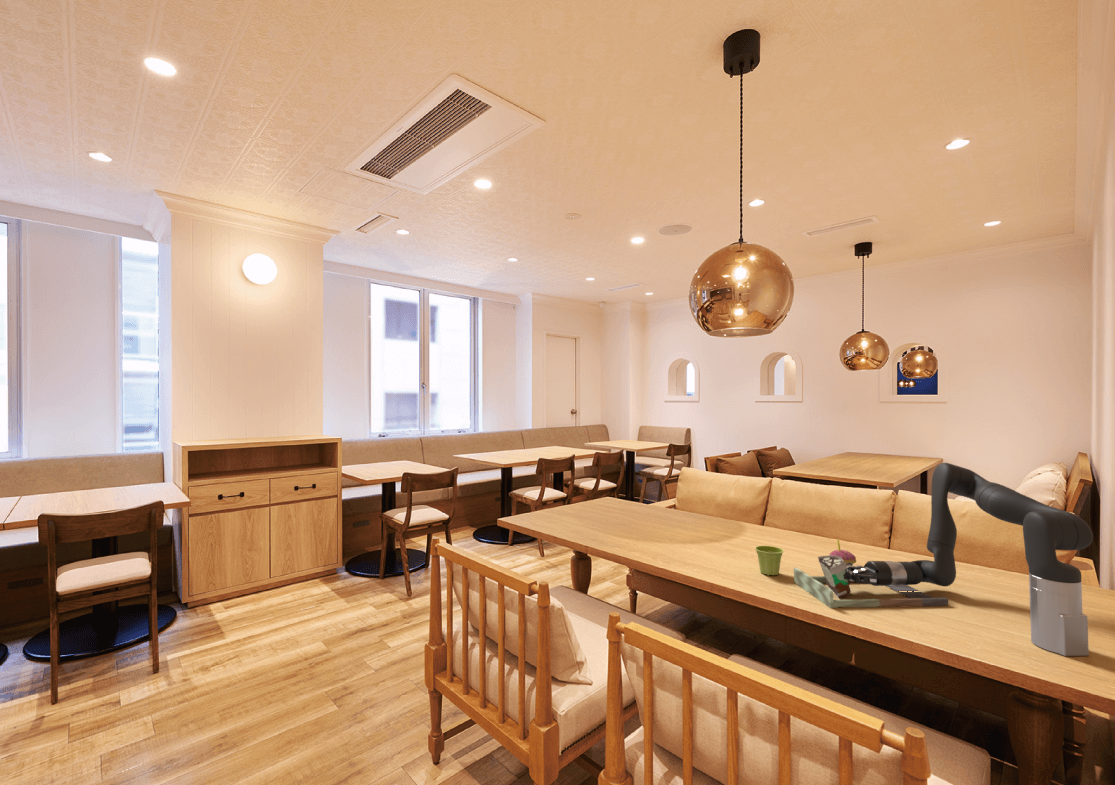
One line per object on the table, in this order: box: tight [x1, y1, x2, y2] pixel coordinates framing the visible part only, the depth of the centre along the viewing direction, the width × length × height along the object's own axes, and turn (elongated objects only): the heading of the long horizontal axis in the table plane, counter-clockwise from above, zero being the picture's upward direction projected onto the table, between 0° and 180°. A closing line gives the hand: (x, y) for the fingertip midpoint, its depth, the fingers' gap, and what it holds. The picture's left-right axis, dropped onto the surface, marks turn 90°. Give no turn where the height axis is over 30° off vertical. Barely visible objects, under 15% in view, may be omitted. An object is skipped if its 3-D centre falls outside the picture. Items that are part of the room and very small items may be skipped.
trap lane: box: [793, 567, 949, 609], centre depth 157 cm, size 21×36×5 cm, turn 92°
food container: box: [817, 555, 852, 599], centre depth 158 cm, size 12×6×10 cm, turn 169°
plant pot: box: [754, 545, 785, 576], centre depth 176 cm, size 9×9×9 cm
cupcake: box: [828, 537, 857, 566], centre depth 179 cm, size 9×8×12 cm
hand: (832, 573), depth 157 cm, fingers open, 3 cm apart
